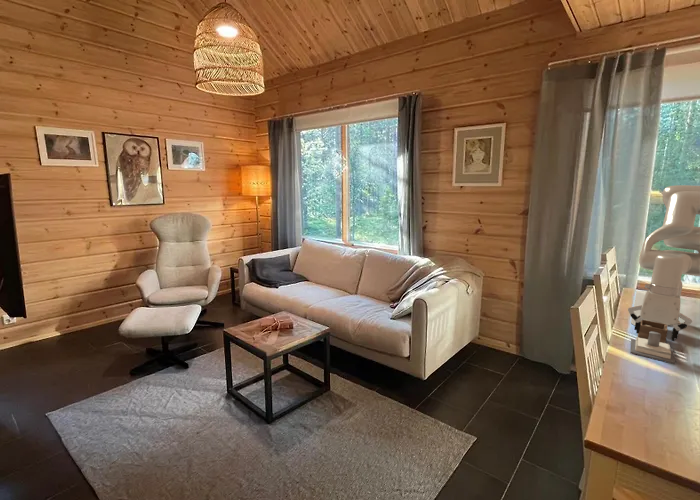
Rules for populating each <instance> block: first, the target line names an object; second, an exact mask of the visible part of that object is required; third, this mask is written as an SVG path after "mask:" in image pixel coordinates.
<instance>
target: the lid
mask: <svg viewBox="0 0 700 500" xmlns="http://www.w3.org/2000/svg"><path fill="white" fill-rule="evenodd" d="M660 338H661V334H660V333H657V332H652V331H651V332H649V337H648V339H644V338H639V337H638V336H636V338H635V340H636V347H635V351H639V352H643V353H647V354H651V355H656V356H660V357H664V358H668V359H670V358H671V349H670V348H671V346H670V343H666V342H665V343H662V342H660Z"/></svg>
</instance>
